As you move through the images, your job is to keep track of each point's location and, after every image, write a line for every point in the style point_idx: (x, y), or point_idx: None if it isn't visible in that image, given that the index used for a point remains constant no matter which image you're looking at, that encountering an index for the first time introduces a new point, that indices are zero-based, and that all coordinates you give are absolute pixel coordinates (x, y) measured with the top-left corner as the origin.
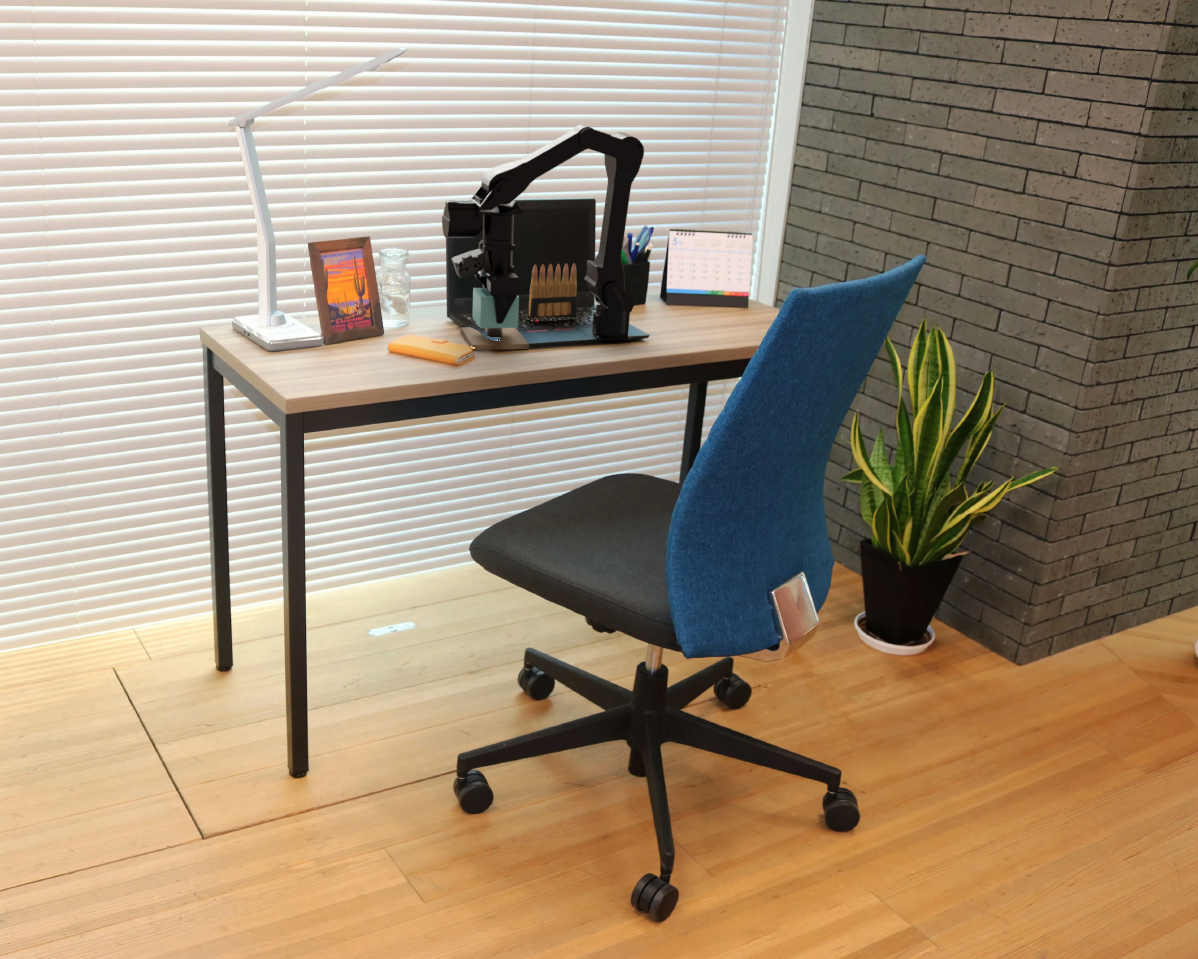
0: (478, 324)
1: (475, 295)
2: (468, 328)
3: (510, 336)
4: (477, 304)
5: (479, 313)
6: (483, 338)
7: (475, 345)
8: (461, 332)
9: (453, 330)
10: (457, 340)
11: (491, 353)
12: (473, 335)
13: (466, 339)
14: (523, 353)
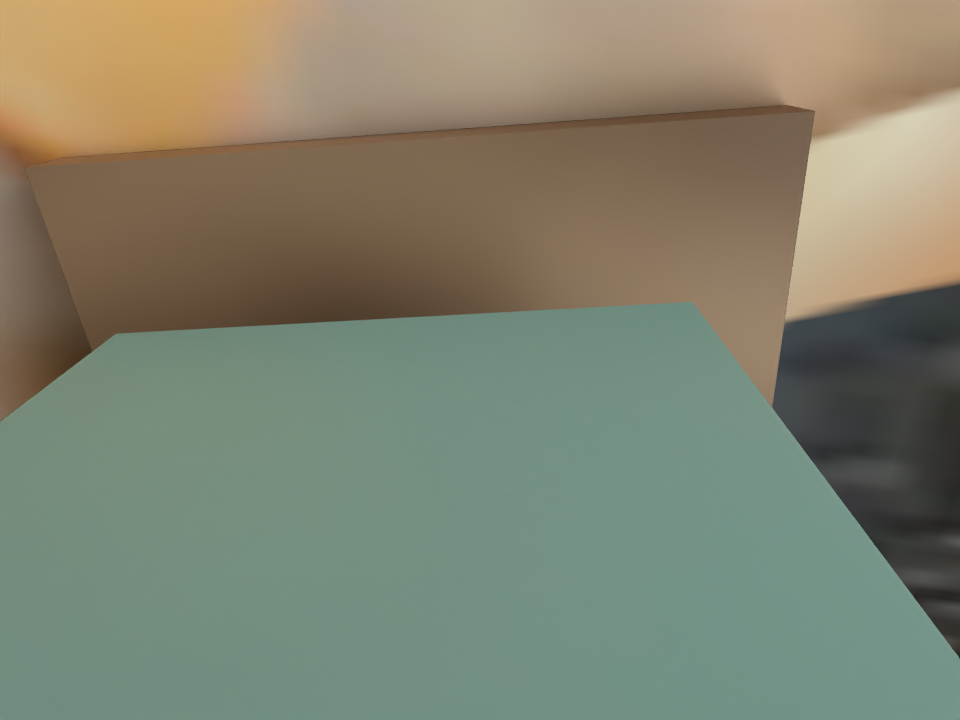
0: (220, 336)
1: (510, 653)
2: (745, 211)
3: None
4: (232, 521)
5: (65, 443)
6: None
7: (43, 200)
8: (732, 110)
9: (898, 16)
10: (441, 16)
11: (11, 334)
12: (430, 231)
13: (414, 134)
14: None
